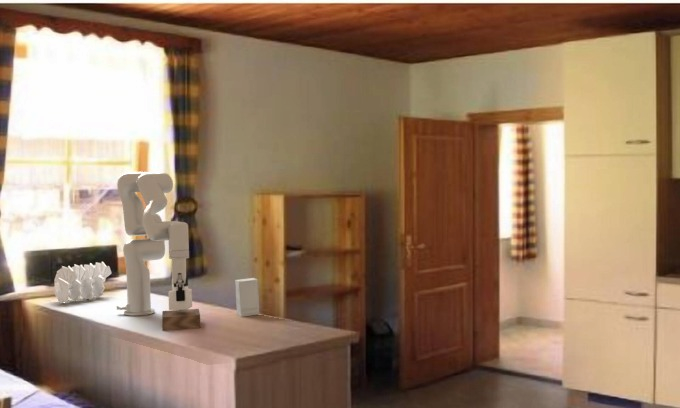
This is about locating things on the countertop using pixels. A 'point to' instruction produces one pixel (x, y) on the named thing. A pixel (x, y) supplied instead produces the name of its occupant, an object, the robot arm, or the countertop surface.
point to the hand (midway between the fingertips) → (180, 298)
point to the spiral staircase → (80, 281)
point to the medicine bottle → (180, 304)
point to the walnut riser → (180, 319)
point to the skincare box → (247, 297)
